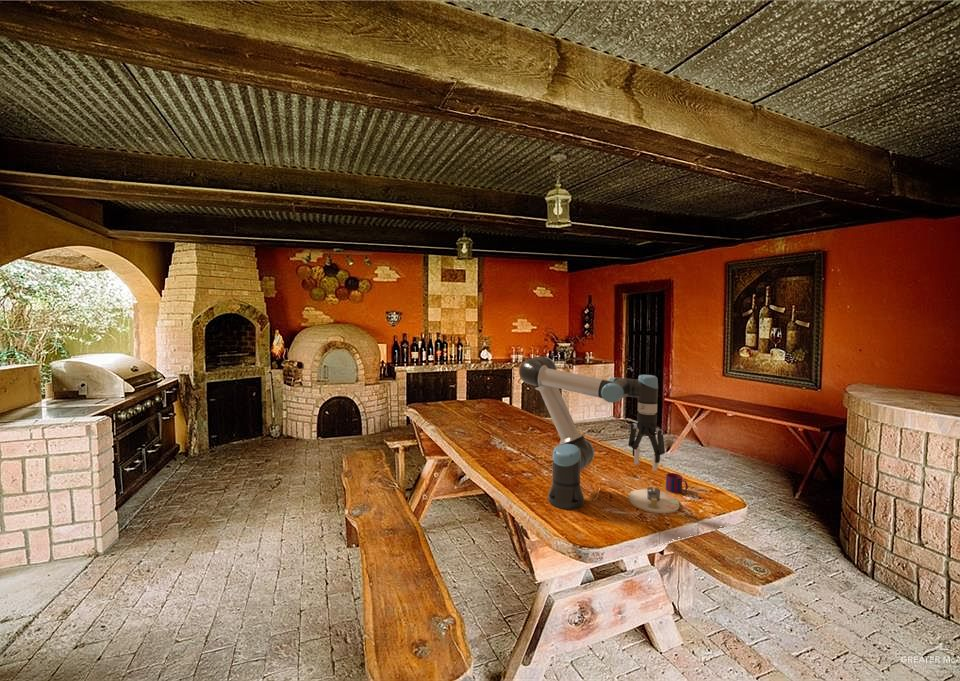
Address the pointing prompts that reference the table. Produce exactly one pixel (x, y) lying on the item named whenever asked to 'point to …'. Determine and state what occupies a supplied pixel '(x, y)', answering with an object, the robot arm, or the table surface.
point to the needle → (653, 496)
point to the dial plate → (642, 502)
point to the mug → (674, 483)
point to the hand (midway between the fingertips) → (645, 466)
